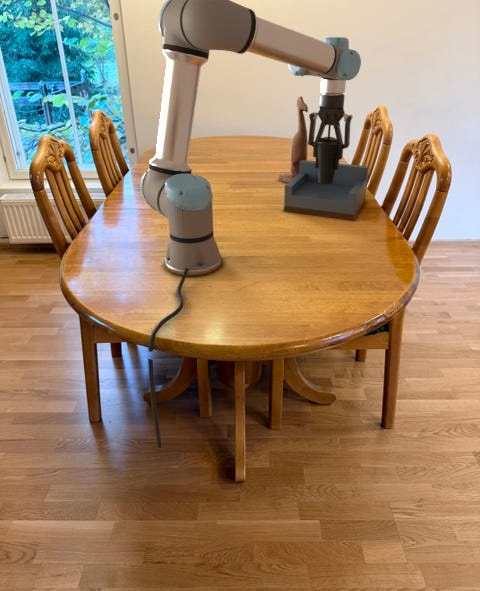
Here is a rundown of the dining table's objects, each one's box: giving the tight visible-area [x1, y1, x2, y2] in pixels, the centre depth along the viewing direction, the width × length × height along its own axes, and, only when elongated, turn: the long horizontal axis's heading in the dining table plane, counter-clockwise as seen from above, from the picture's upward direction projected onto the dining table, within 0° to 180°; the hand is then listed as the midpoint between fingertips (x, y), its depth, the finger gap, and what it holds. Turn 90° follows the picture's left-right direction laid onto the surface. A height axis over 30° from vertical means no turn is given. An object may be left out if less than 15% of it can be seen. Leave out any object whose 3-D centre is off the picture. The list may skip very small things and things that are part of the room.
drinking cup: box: [317, 125, 339, 184], centre depth 160 cm, size 8×8×20 cm
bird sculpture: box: [278, 95, 309, 184], centre depth 190 cm, size 11×12×32 cm
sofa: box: [283, 159, 370, 221], centre depth 168 cm, size 19×24×13 cm
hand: (326, 167), depth 163 cm, fingers closed on drinking cup, 6 cm apart
